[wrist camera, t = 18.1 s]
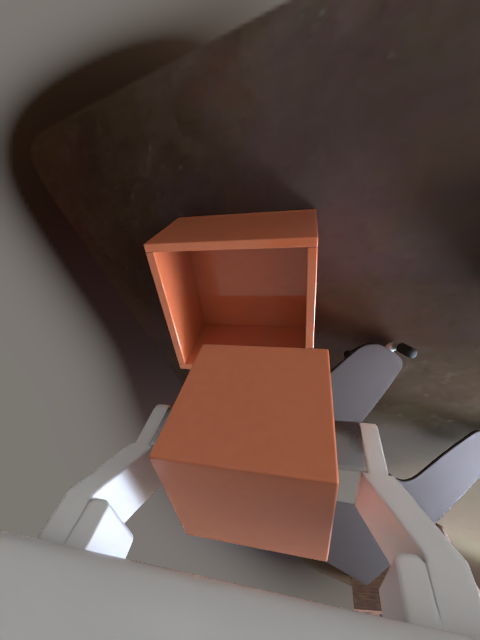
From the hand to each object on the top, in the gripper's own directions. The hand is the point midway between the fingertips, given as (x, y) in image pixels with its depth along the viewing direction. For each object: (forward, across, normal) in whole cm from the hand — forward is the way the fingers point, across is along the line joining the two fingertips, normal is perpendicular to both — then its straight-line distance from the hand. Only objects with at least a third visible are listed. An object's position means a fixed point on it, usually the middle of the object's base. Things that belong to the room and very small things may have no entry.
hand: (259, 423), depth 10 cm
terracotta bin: (+17, +4, +2) cm, 18 cm away
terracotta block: (+2, 0, 0) cm, 2 cm away
